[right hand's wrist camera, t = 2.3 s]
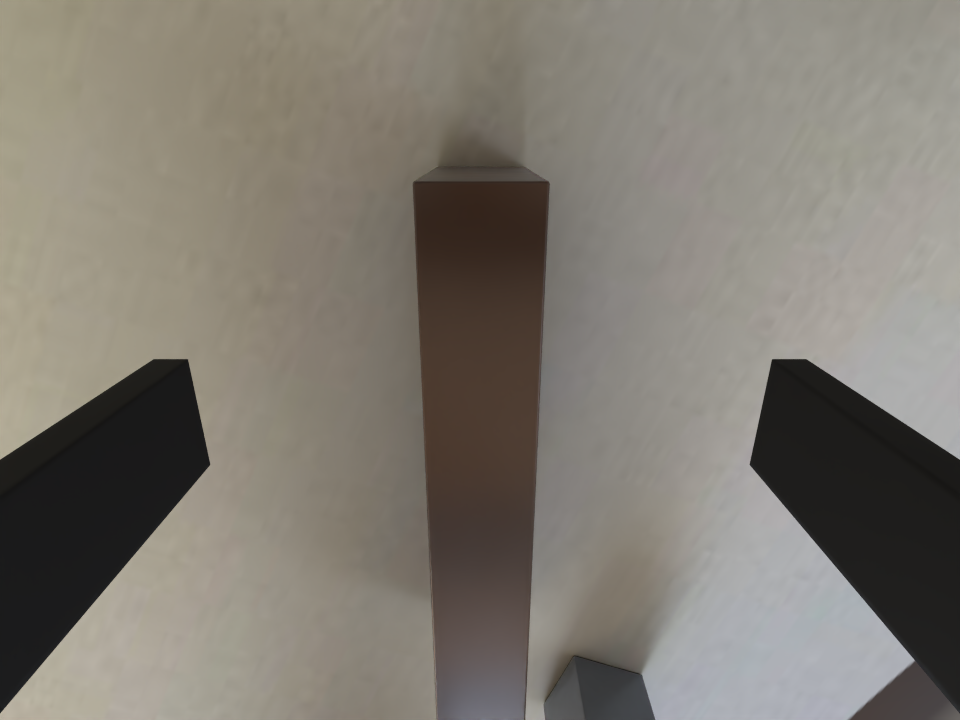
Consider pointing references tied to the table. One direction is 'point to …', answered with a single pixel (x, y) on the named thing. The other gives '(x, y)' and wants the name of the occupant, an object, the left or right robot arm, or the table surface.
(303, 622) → the table surface
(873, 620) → the table surface
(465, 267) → the plank
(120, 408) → the right robot arm
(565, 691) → the grey cube
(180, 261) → the table surface
